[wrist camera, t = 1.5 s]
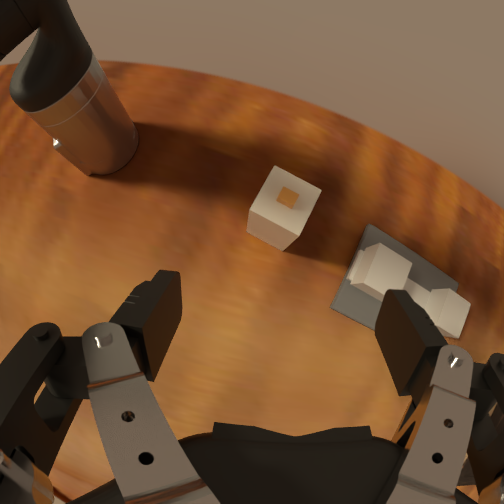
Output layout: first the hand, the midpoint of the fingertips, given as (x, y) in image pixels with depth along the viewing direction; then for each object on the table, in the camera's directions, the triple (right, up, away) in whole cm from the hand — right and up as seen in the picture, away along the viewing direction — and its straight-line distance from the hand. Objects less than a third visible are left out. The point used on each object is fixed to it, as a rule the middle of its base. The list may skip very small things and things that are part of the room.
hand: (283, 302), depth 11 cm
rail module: (+1, +5, +25) cm, 26 cm away
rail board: (+19, -4, +25) cm, 31 cm away
